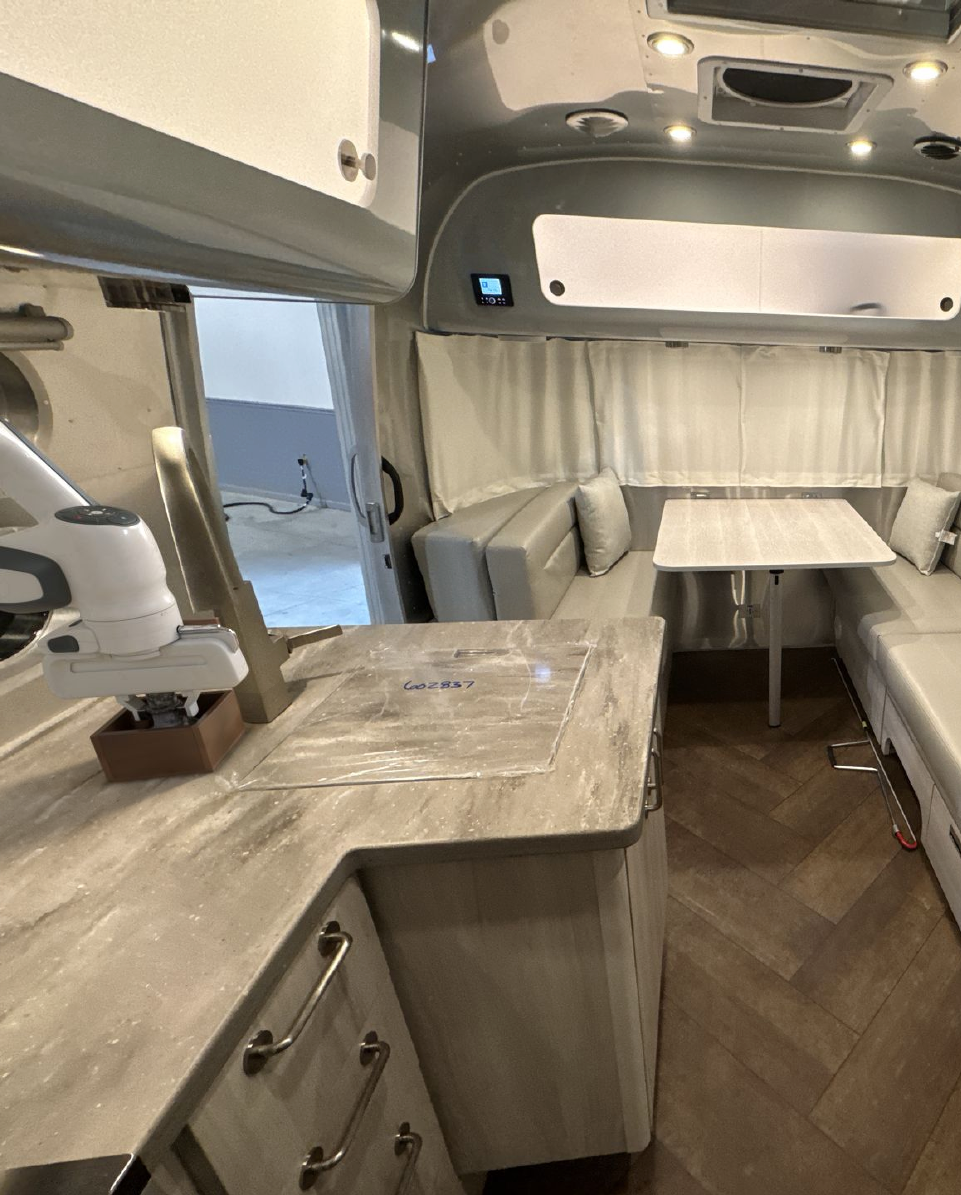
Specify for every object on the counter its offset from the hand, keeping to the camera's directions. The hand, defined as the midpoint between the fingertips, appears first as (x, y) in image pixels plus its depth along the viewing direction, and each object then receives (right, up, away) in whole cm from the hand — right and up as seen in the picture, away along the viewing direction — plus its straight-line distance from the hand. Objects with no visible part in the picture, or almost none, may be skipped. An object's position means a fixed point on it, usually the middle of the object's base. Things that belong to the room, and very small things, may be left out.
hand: (168, 716), depth 90 cm
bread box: (0, -6, +3) cm, 7 cm away
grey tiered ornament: (0, -5, +2) cm, 6 cm away
